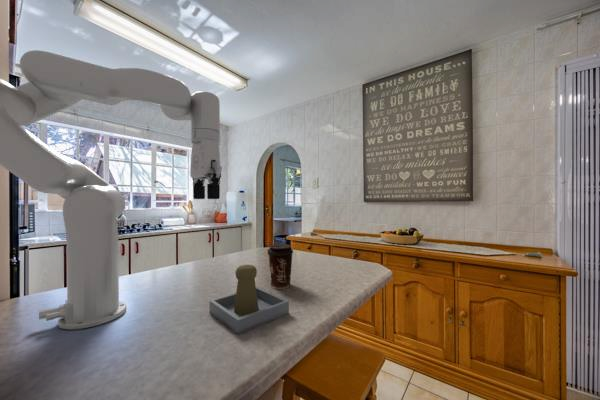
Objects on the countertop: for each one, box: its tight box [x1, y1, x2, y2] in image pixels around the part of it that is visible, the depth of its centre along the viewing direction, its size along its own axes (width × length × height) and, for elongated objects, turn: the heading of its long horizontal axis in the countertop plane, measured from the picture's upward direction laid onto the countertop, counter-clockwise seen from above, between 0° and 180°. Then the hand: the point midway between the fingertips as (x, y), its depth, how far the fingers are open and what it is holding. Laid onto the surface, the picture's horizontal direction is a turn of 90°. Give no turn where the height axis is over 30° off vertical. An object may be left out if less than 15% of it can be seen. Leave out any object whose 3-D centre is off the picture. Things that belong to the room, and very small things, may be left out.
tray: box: [209, 286, 290, 335], centre depth 62 cm, size 14×14×3 cm
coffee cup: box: [267, 243, 294, 290], centre depth 81 cm, size 9×8×13 cm
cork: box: [234, 264, 259, 315], centre depth 62 cm, size 6×6×11 cm
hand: (206, 199), depth 70 cm, fingers open, 9 cm apart
